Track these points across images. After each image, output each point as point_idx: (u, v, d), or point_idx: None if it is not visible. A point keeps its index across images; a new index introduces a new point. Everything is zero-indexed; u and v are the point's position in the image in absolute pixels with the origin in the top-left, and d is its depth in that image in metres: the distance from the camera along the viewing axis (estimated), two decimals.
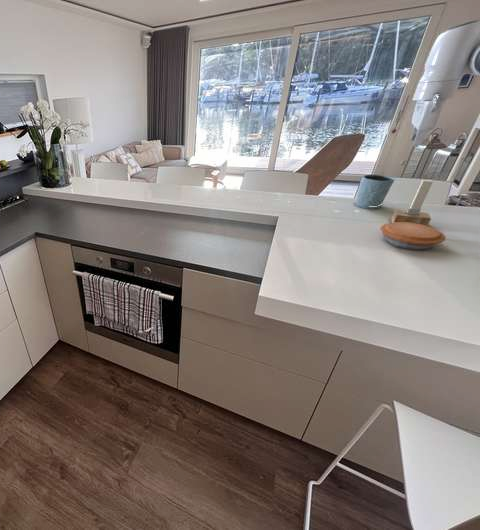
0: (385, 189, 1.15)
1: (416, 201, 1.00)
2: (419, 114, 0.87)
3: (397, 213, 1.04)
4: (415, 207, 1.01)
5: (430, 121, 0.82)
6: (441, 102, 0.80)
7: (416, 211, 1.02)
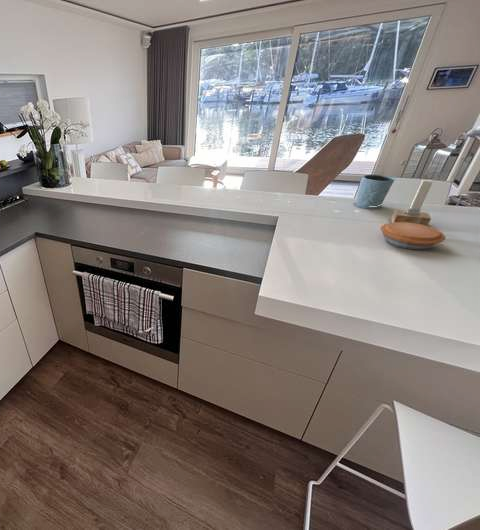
0: (385, 189, 1.15)
1: (416, 201, 1.00)
2: None
3: (397, 213, 1.04)
4: (415, 207, 1.01)
5: None
6: None
7: (416, 211, 1.02)
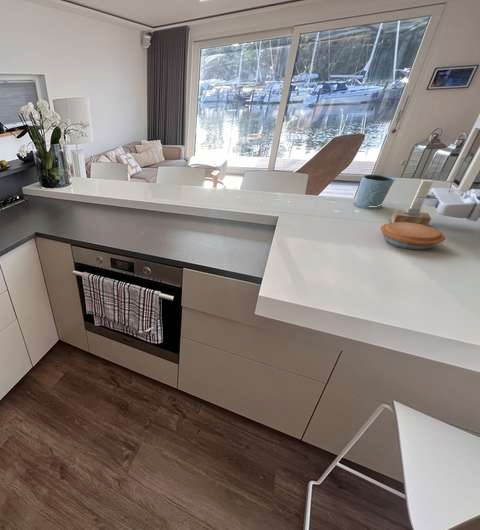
0: (385, 189, 1.15)
1: None
2: None
3: (397, 213, 1.04)
4: (415, 207, 1.01)
5: None
6: None
7: (416, 211, 1.02)
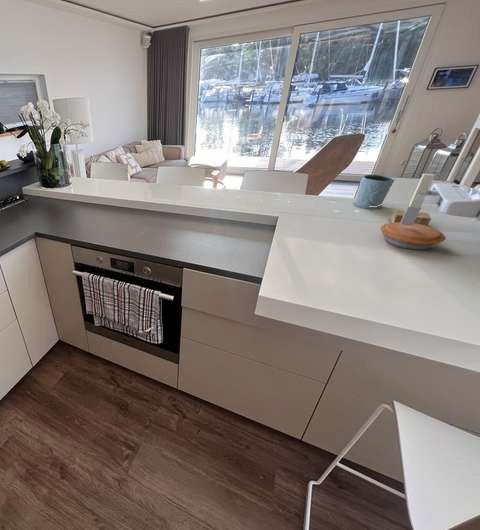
0: (385, 189, 1.15)
1: None
2: None
3: (397, 213, 1.04)
4: (414, 205, 0.89)
5: None
6: None
7: (416, 210, 0.89)
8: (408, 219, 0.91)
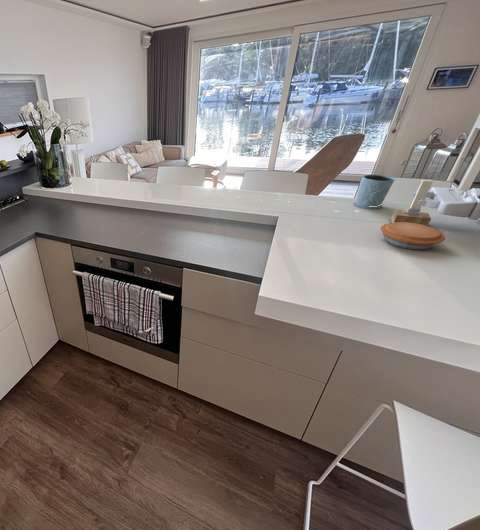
0: (385, 189, 1.15)
1: (416, 201, 1.00)
2: None
3: (397, 213, 1.04)
4: (415, 207, 1.01)
5: None
6: None
7: (416, 211, 1.02)
8: None
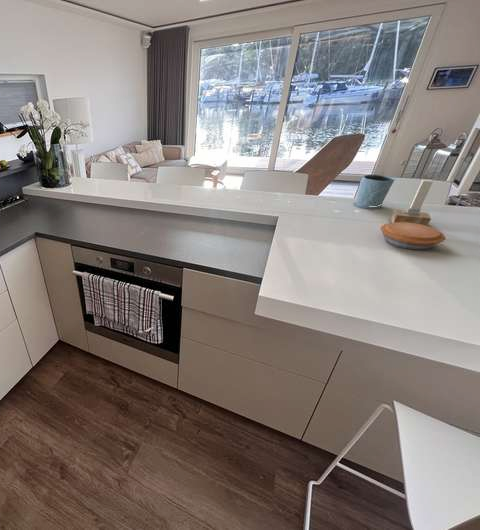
0: (385, 189, 1.15)
1: (416, 201, 1.00)
2: None
3: (397, 213, 1.04)
4: (415, 207, 1.01)
5: None
6: None
7: (416, 211, 1.02)
8: None
